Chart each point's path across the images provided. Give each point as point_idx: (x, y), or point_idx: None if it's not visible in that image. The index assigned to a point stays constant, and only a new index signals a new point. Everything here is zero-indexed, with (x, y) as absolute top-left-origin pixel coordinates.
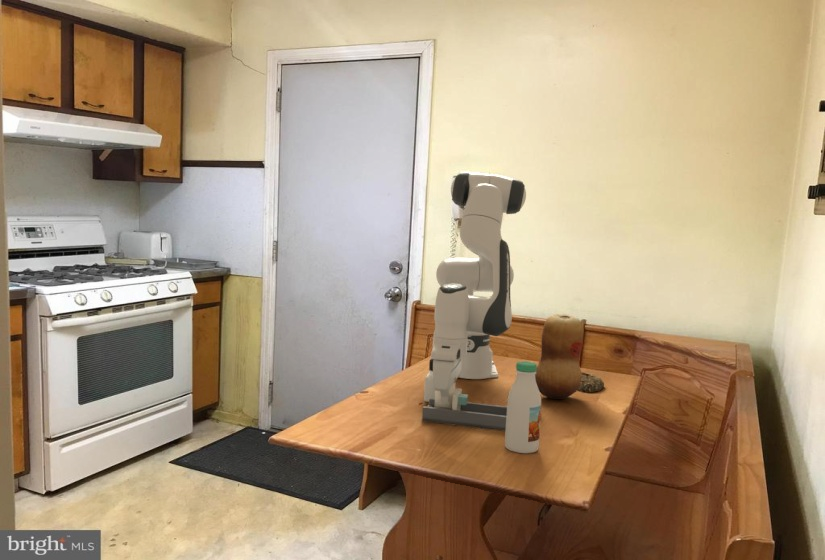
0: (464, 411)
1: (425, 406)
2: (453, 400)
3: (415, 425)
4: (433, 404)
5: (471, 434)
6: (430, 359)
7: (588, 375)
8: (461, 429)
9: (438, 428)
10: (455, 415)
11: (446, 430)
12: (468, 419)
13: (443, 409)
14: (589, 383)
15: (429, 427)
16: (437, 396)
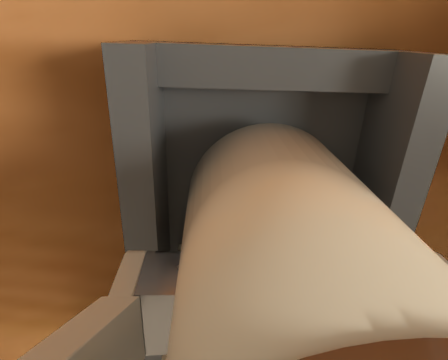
0: (153, 356)
1: (146, 67)
2: (164, 355)
3: (10, 9)
4: (391, 94)
5: (48, 331)
6: None
7: None
8: (96, 286)
9: (43, 177)
10: None
11: (35, 224)
12: None
13: (130, 236)
14: None
15: (28, 121)
16: (198, 222)
